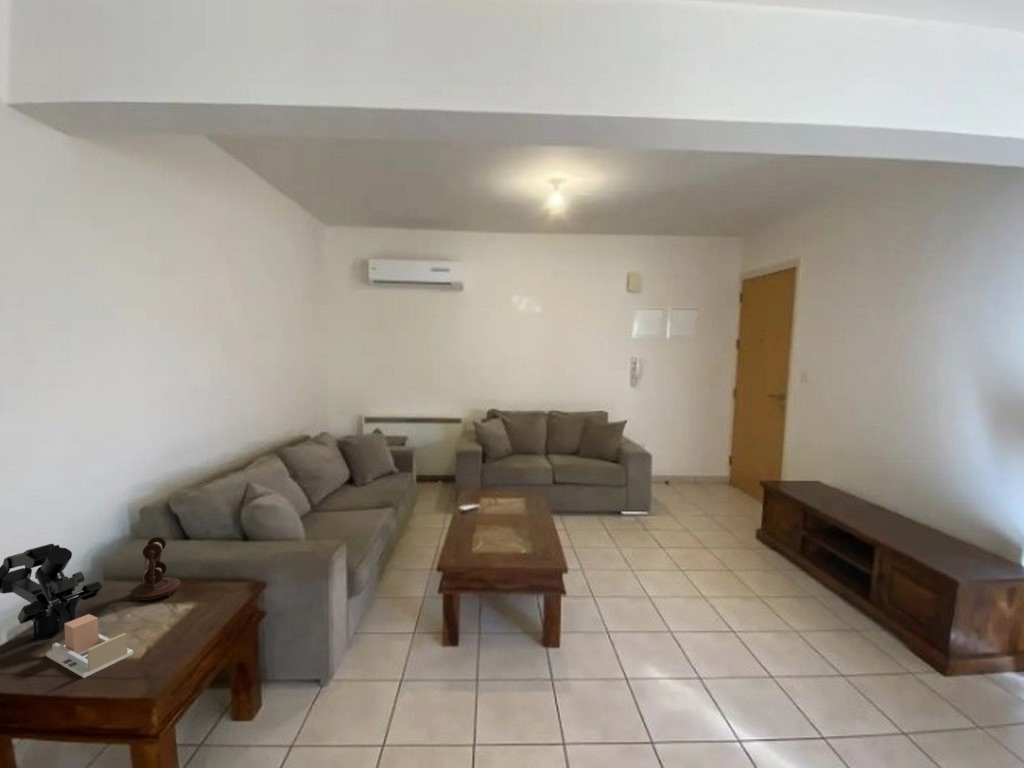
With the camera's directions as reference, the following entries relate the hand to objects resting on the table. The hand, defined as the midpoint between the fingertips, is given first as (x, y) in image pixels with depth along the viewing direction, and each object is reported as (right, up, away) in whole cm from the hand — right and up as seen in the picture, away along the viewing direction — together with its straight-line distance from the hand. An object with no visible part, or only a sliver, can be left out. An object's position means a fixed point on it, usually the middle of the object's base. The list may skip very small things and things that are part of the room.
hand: (72, 625), depth 149 cm
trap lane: (+8, -7, -4) cm, 11 cm away
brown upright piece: (+1, -5, +33) cm, 33 cm away
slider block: (+5, -6, -2) cm, 7 cm away
